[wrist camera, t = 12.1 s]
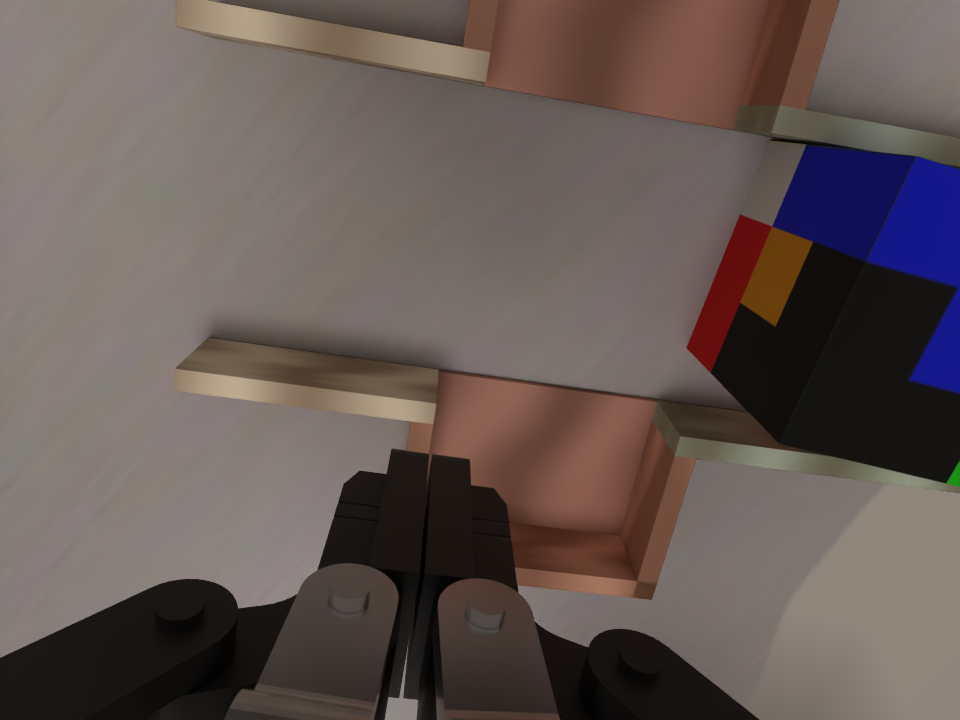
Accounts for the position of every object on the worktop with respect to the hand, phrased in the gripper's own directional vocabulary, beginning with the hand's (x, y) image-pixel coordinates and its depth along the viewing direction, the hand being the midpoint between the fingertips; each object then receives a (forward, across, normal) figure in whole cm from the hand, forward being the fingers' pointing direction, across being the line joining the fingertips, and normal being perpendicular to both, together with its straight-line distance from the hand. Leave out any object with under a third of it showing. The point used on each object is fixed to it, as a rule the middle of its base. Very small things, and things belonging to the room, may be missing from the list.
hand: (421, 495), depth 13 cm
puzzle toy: (+20, -18, -3) cm, 27 cm away
